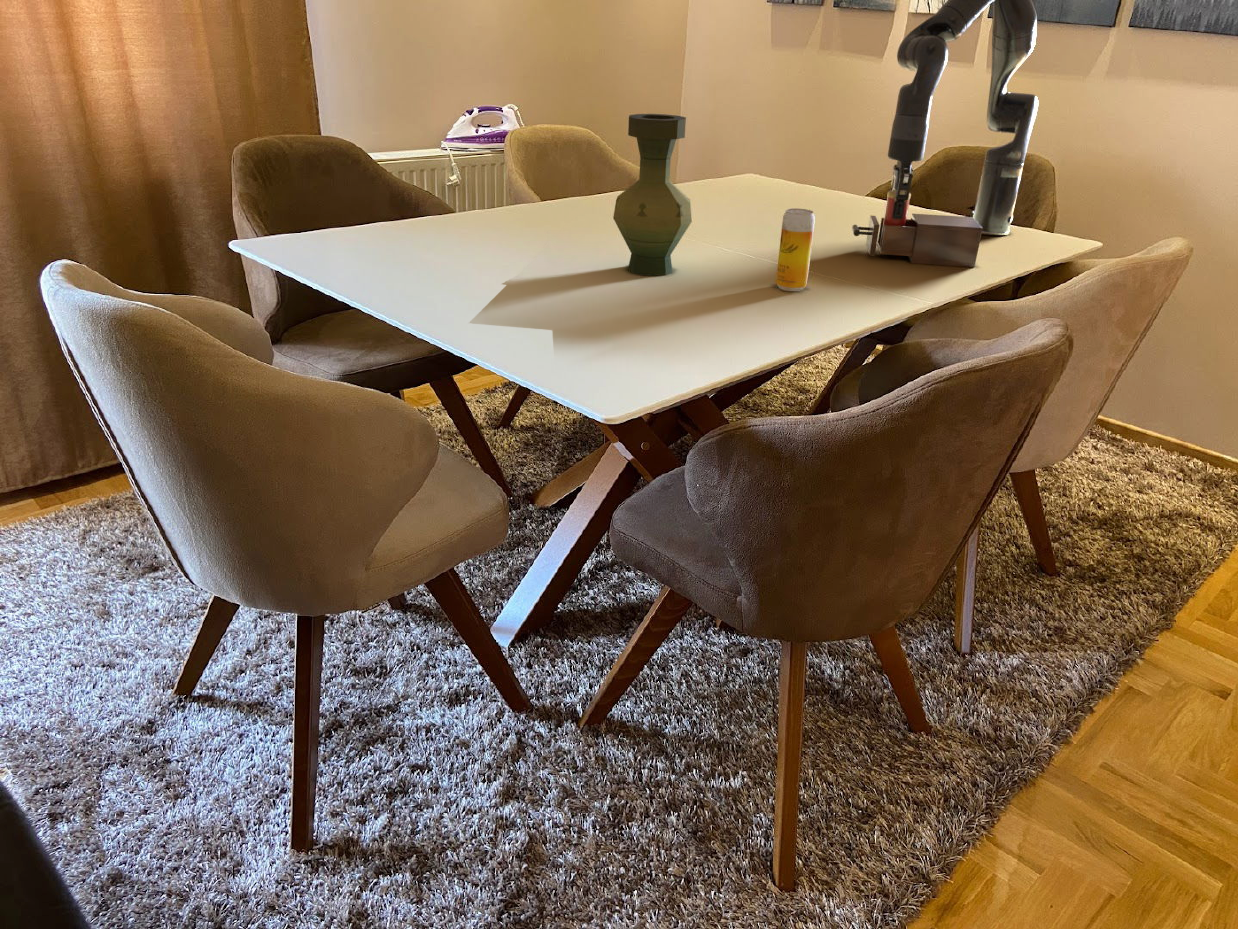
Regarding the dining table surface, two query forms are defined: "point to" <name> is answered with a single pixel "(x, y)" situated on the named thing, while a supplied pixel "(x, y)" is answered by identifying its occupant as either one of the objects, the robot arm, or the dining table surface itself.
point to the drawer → (888, 237)
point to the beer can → (795, 249)
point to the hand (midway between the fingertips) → (895, 215)
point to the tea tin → (889, 210)
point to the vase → (653, 197)
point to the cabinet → (945, 240)
